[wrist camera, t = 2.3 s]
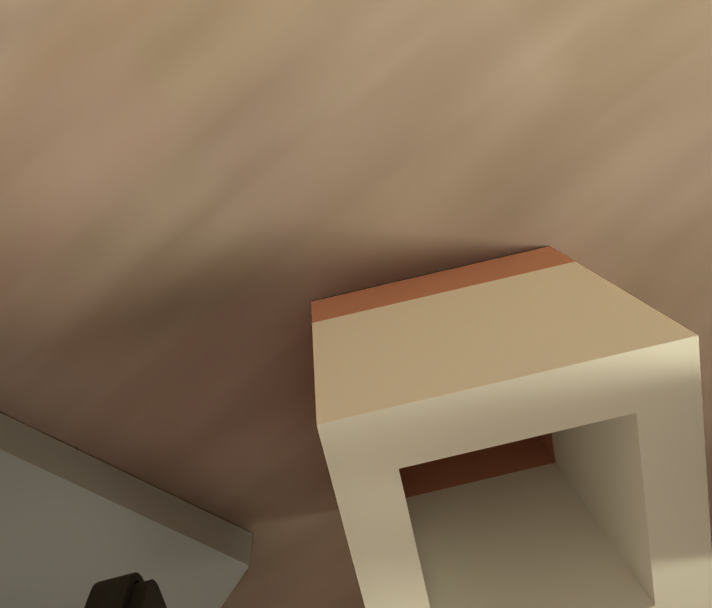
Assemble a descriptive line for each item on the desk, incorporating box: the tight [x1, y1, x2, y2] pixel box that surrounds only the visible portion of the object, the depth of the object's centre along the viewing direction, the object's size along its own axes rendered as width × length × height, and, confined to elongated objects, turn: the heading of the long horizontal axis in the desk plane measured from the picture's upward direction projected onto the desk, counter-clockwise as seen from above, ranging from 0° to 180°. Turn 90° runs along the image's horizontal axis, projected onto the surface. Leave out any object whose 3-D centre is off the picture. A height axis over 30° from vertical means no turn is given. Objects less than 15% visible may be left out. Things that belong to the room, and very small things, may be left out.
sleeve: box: [311, 246, 712, 608], centre depth 13 cm, size 6×6×6 cm
